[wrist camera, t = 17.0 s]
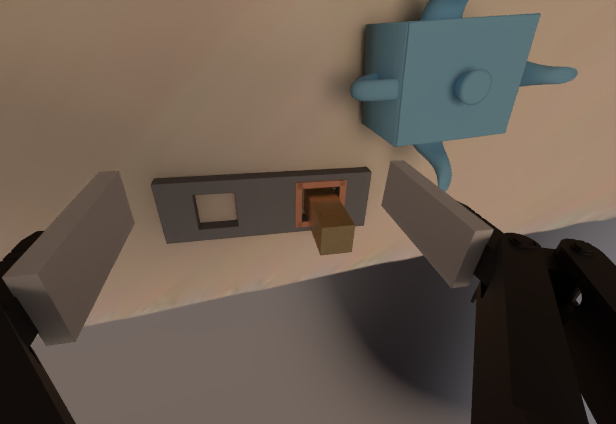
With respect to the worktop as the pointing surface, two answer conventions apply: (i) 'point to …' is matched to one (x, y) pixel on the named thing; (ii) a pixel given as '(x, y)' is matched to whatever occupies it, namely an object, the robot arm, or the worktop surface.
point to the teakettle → (447, 78)
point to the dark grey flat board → (255, 201)
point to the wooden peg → (328, 221)
